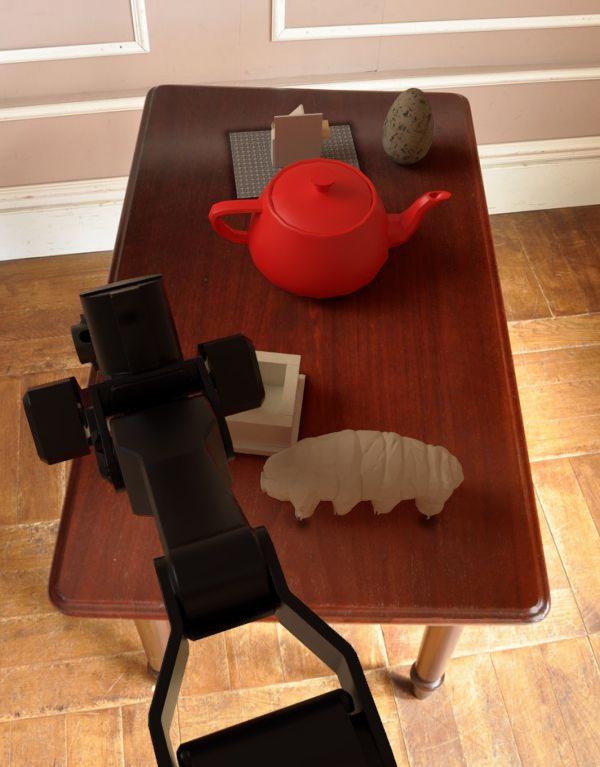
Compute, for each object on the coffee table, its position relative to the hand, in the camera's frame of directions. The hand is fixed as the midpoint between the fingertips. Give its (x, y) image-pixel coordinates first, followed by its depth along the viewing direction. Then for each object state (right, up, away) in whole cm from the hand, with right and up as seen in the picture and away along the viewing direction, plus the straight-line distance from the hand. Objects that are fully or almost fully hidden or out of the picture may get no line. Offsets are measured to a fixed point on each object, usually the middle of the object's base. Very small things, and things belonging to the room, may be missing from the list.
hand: (140, 380), depth 78 cm
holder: (+10, -3, +6) cm, 12 cm away
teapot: (+17, +14, +18) cm, 28 cm away
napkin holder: (+14, +27, +26) cm, 40 cm away
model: (+20, -11, +1) cm, 23 cm away
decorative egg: (+27, +27, +27) cm, 46 cm away
